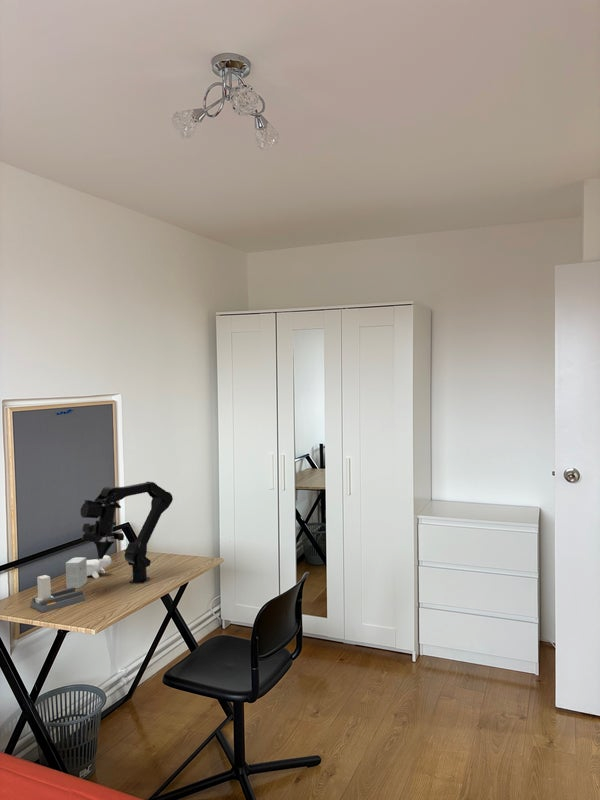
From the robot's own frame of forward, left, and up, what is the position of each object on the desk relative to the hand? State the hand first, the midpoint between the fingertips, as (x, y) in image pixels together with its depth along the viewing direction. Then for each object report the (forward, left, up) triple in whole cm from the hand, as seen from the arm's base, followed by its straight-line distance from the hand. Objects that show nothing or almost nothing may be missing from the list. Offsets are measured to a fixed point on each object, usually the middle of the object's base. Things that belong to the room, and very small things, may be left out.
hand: (100, 558), depth 240 cm
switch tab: (+19, -13, -11) cm, 25 cm away
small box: (-7, -14, -13) cm, 20 cm away
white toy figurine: (-21, -13, -13) cm, 28 cm away
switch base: (+14, -10, -13) cm, 22 cm away
